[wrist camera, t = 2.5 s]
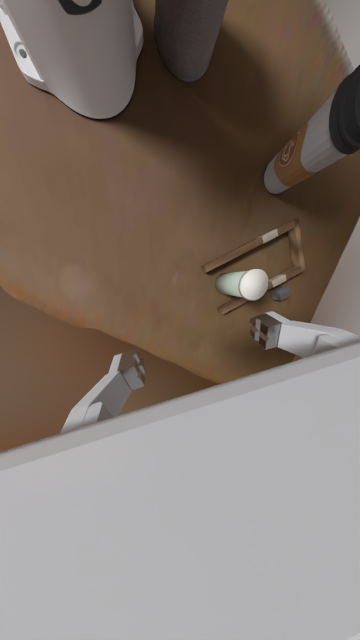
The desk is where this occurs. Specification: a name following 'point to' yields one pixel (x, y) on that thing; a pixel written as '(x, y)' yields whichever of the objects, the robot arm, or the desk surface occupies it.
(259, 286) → the mint green tumbler
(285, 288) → the beam slot
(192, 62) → the pillar candle
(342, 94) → the coffee cup
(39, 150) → the desk surface
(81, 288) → the desk surface
